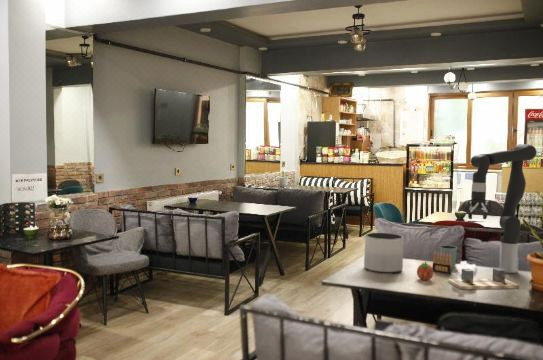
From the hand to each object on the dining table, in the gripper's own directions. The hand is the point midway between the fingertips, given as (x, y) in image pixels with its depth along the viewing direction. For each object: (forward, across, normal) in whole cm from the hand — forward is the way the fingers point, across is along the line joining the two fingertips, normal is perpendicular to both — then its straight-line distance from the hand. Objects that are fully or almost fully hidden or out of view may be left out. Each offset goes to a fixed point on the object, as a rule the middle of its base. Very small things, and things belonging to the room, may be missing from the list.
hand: (477, 219), depth 296 cm
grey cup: (+32, +6, -21) cm, 39 cm away
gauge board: (+32, +7, +21) cm, 39 cm away
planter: (+32, +49, -15) cm, 61 cm away
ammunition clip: (+32, +17, -6) cm, 37 cm away
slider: (+30, +15, +21) cm, 39 cm away
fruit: (+32, +34, +9) cm, 48 cm away
